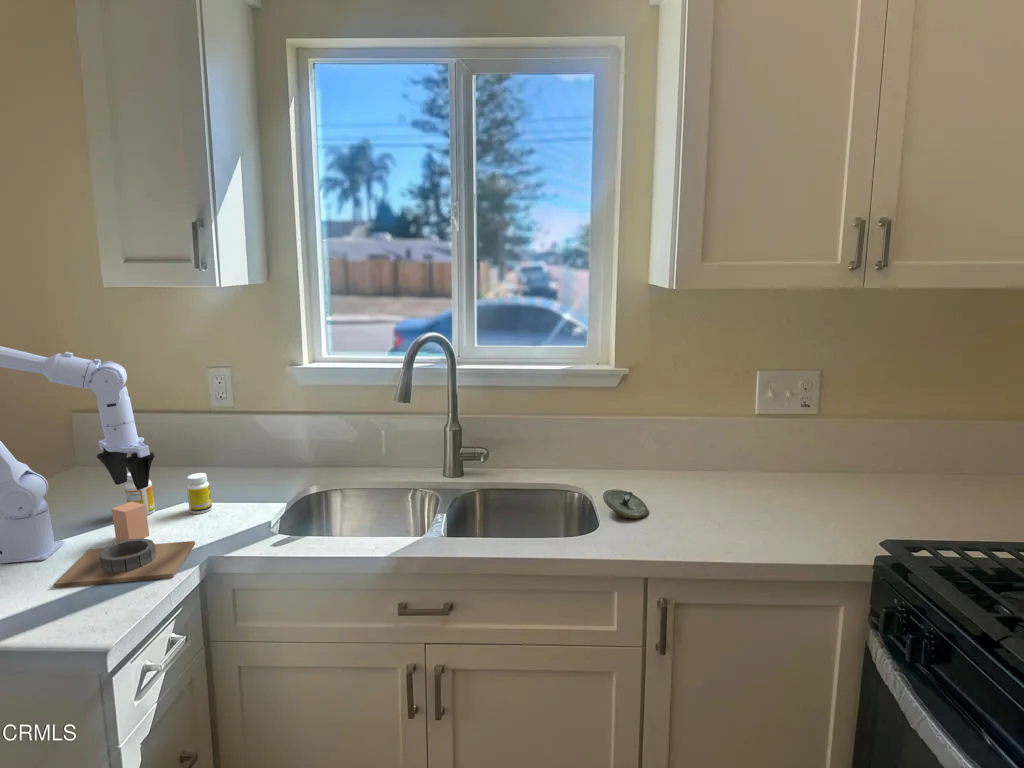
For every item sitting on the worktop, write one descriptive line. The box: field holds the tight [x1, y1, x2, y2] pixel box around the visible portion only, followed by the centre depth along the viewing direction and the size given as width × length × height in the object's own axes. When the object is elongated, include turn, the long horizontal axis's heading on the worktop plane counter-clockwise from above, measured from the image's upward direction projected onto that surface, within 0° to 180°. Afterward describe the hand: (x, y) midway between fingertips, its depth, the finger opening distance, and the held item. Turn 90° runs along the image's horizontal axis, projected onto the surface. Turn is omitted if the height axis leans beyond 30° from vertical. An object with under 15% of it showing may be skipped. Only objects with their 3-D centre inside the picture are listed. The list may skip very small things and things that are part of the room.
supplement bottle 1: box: [124, 472, 156, 516], centre depth 153 cm, size 5×5×10 cm
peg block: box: [111, 501, 150, 542], centre depth 140 cm, size 4×4×7 cm
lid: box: [602, 488, 649, 520], centre depth 150 cm, size 11×10×5 cm
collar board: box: [53, 538, 196, 589], centre depth 128 cm, size 20×14×3 cm
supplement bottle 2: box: [186, 472, 213, 515], centre depth 154 cm, size 5×5×8 cm
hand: (131, 485), depth 138 cm, fingers open, 7 cm apart
